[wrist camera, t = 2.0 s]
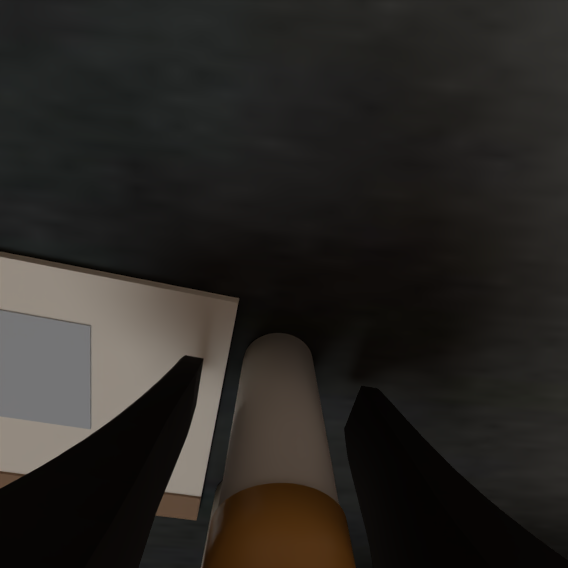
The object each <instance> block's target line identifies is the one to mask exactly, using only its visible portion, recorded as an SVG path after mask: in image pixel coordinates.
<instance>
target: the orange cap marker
mask: <svg viewBox="0 0 568 568" xmlns="http://www.w3.org/2000/svg"><path fill="white" fill-rule="evenodd" d="M203 568H356V566H355V561H354V556H353V551H352V546H351V540H350V535H349V530H348V525H347V520H346V516H345V514H344V511H343V509H342V508H341V507H340V505H339V501H338V496H337V490H336V485H335V479H334V474H333V468H332V463H331V457H330V452H329V446H328V441H327V435H326V430H325V424H324V419H323V413H322V408H321V402H320V397H319V391H318V386H317V380H316V375H315V369H314V364H313V358H312V354H311V351H310V349H309V348H308V346H307V345H306V344H305V343H304V342H303V341H302V340H300V339H299V338H297V337H295V336H293V335H290V334H286V333H271V334H267V335H264V336H261V337H259V338H258V339H256V340H255V341H253V342H252V343H251V344H250V345H249V346H248V348H247V349H246V352H245V354H244V357H243V363H242V369H241V375H240V381H239V387H238V393H237V399H236V405H235V411H234V416H233V422H232V428H231V434H230V440H229V446H228V452H227V458H226V464H225V470H224V476H223V481H222V487H221V493H220V499H219V505H218V508H217V509H216V511H215V513H214V515H213V517H212V520H211V524H210V530H209V535H208V541H207V546H206V552H205V557H204V563H203Z"/></svg>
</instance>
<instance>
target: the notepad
mask: <svg viewBox="0 0 568 568" xmlns="http://www.w3.org/2000/svg"><path fill="white" fill-rule="evenodd" d="M238 303H239V298H235V297H230V296H225V295H220V294H215V293H210V292H205V291H200V290H195V289H189V288H184V287H179V286H174V285H169V284H164V283H159V282H154V281H149V280H144V279H138V278H133V277H128V276H123V275H118V274H113V273H108V272H103V271H98V270H93V269H87V268H82V267H77V266H72V265H67V264H62V263H57V262H52V261H47V260H42V259H36V258H31V257H26V256H21V255H16V254H11V253H6V252H1V251H0V488H2V487H4V486H6V485H8V484H9V483H11V482H13V481H15V480H17V479H19V478H20V477H22V476H24V475H26V474H28V473H30V472H31V471H33V470H35V469H37V468H39V467H40V466H42V465H44V464H45V463H47V462H49V461H50V460H52V459H54V458H55V457H57V456H59V455H60V454H62V453H63V452H65V451H66V450H68V449H70V448H71V447H73V446H74V445H76V444H78V443H79V442H81V441H82V440H84V439H85V438H87V437H88V436H90V435H91V434H92V433H94V432H95V431H97V430H98V429H100V428H101V427H103V426H104V425H105V424H107V423H108V422H109V421H111V420H112V419H113V418H115V417H116V416H117V415H119V414H120V413H121V412H122V411H124V410H125V409H126V408H127V407H129V406H130V405H131V404H132V403H134V402H135V401H136V400H137V399H139V398H140V397H141V396H142V395H143V394H144V393H146V392H147V391H148V390H149V389H150V388H151V387H152V386H153V385H154V384H156V383H157V382H158V381H159V380H160V379H161V378H162V377H163V376H164V375H165V374H166V373H167V372H168V371H169V370H170V369H171V368H172V367H173V366H174V365H175V364H176V363H177V362H178V361H179V360H180V359H181V358H182V357H183V356H185V355H187V356H193V357H199V358H204V360H203V366H202V372H201V379H200V385H199V391H198V398H197V404H196V408H195V412H194V415H193V419H192V422H191V425H190V429H189V432H188V435H187V438H186V440H185V443H184V445H183V448H182V450H181V453H180V455H179V458H178V460H177V463H176V465H175V468H174V470H173V473H172V475H171V477H170V480H169V482H168V485H167V487H166V490H165V492H164V495H163V497H162V500H161V502H160V505H159V507H158V510H157V513H156V516H164V517H173V518H181V519H189V520H197V515H198V511H199V506H200V500H201V495H202V490H203V485H204V480H205V474H206V469H207V464H208V459H209V454H210V448H211V443H212V438H213V433H214V428H215V422H216V417H217V412H218V407H219V401H220V396H221V391H222V386H223V381H224V375H225V370H226V365H227V360H228V355H229V349H230V344H231V339H232V334H233V329H234V323H235V318H236V313H237V308H238Z"/></svg>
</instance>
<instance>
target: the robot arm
mask: <svg viewBox="0 0 568 568" xmlns="http://www.w3.org/2000/svg"><path fill="white" fill-rule="evenodd" d="M203 360H204V358H199V357H193V356H187V355H185V356H183V357H182V358H181V359H180V360H179V361H178V362H177V363H176V364H175V365H174V366H173V367H172V368H171V369H170V370H169V371H168V372H167V373H166V374H165V375H164V376H163V377H162V378H161V379H160V380H159V381H158V382H157V383H156V384H154V385H153V386H152V387H151V388H150V389H149V390H148V391H147V392H146V393H144V394H143V395H142V396H141V397H140V398H139V399H137V400H136V401H135V402H134V403H132V404H131V405H130V406H129V407H127V408H126V409H125V410H124V411H122V412H121V413H120V414H119V415H117V416H116V417H115V418H113V419H112V420H111V421H109V422H108V423H107V424H105V425H104V426H103V427H101V428H100V429H98V430H97V431H95V432H94V433H92V434H91V435H90V436H88V437H87V438H85V439H84V440H82V441H81V442H79V443H78V444H76V445H74V446H73V447H71V448H70V449H68V450H66V451H65V452H63V453H62V454H60V455H59V456H57V457H55V458H54V459H52V460H50V461H49V462H47V463H45V464H44V465H42V466H40V467H39V468H37V469H35V470H33V471H31V472H30V473H28V474H26V475H24V476H22V477H20V478H19V479H17V480H15V481H13V482H11V483H9V484H8V485H6V486H4V487H2V488H0V568H138V567H139V564H140V561H141V558H142V555H143V552H144V548H145V545H146V542H147V539H148V536H149V533H150V530H151V526H152V523H153V521H154V518H155V515H156V513H157V510H158V507H159V505H160V502H161V500H162V497H163V495H164V492H165V490H166V487H167V485H168V482H169V480H170V477H171V475H172V473H173V470H174V468H175V465H176V463H177V460H178V458H179V455H180V453H181V450H182V448H183V445H184V443H185V440H186V438H187V435H188V432H189V429H190V425H191V422H192V419H193V415H194V412H195V408H196V404H197V398H198V391H199V385H200V379H201V372H202V366H203ZM344 431H345V440H346V448H347V455H348V461H349V465H350V469H351V473H352V477H353V481H354V485H355V489H356V493H357V497H358V501H359V505H360V509H361V513H362V517H363V521H364V525H365V529H366V533H367V537H368V542H369V546H370V551H371V557H372V564H373V568H568V560H566V559H565V558H564V557H562V556H561V555H559V554H558V553H557V552H555V551H554V550H552V549H551V548H550V547H548V546H547V545H546V544H544V543H543V542H542V541H540V540H539V539H537V538H536V537H535V536H533V535H532V534H531V533H530V532H528V531H527V530H526V529H524V528H523V527H522V526H521V525H519V524H518V523H517V522H516V521H514V520H513V519H512V518H510V517H509V516H508V515H507V514H505V513H504V512H503V511H502V510H500V509H499V508H498V507H497V506H496V505H494V504H493V503H492V502H491V501H490V500H488V499H487V498H486V497H485V496H484V495H483V494H482V493H480V492H479V491H478V490H477V489H476V488H475V487H474V486H473V485H471V484H470V483H469V482H468V481H467V480H466V479H465V478H464V477H462V476H461V475H460V474H459V473H458V472H457V471H456V470H455V469H454V468H453V467H452V466H451V465H450V464H449V463H448V462H447V461H446V460H445V459H444V458H443V457H442V456H441V455H440V454H439V453H438V452H437V451H436V450H435V449H434V448H433V447H432V446H431V445H430V444H429V443H428V442H427V441H426V440H425V439H424V438H423V437H422V436H421V435H420V434H419V433H418V431H417V430H416V429H415V428H414V427H413V426H412V425H411V424H410V423H409V422H408V421H407V420H406V418H405V417H404V416H403V415H402V414H401V413H400V412H399V411H398V410H397V408H396V407H395V406H394V405H393V404H392V403H391V402H390V401H389V400H388V399H387V398H386V396H385V395H384V394H383V393H382V392H381V391H380V390H379V389H377V388H372V387H366V386H361V388H360V390H359V393H358V395H357V398H356V401H355V403H354V406H353V408H352V411H351V413H350V416H349V418H348V421H347V423H346V426H345V428H344Z"/></svg>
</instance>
